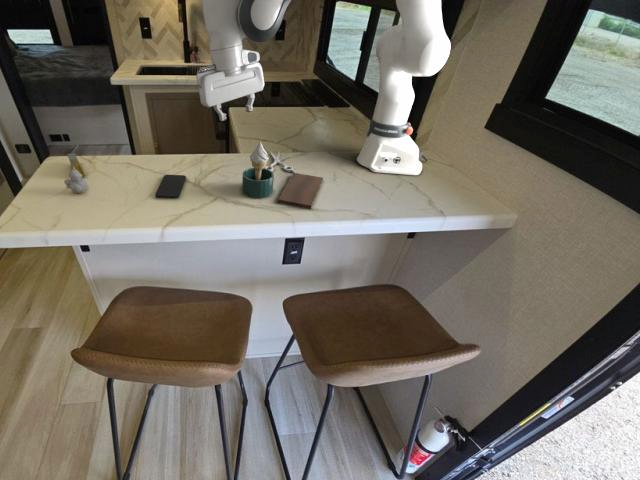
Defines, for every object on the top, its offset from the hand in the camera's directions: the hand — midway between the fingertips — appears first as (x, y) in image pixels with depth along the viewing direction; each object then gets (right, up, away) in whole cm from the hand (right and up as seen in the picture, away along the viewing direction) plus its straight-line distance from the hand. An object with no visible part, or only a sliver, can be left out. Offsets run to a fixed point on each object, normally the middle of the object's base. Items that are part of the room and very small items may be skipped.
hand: (236, 115), depth 101 cm
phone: (-21, -20, +6) cm, 29 cm away
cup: (+6, -21, +5) cm, 23 cm away
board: (+20, -21, +5) cm, 30 cm away
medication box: (-54, -12, +13) cm, 57 cm away
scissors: (+15, -5, +21) cm, 26 cm away
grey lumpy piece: (-49, -22, +3) cm, 54 cm away
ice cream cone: (+6, -21, +5) cm, 22 cm away
